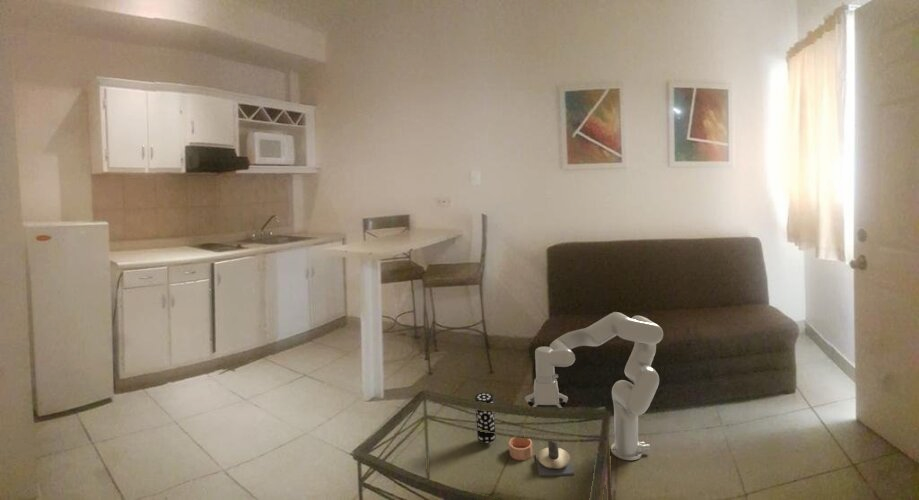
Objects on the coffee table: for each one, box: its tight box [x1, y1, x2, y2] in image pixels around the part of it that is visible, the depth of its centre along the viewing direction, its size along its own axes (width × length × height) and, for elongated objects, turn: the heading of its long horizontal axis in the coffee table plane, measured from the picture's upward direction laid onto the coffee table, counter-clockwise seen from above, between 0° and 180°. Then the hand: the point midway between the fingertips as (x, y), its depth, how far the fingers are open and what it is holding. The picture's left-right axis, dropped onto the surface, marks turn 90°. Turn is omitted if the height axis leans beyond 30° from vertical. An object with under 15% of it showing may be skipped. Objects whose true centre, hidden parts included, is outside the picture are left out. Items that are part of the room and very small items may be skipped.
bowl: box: [508, 436, 534, 461], centre depth 196 cm, size 10×10×5 cm
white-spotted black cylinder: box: [474, 392, 497, 444], centre depth 203 cm, size 8×8×20 cm
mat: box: [534, 451, 575, 477], centre depth 187 cm, size 14×14×1 cm
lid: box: [537, 437, 571, 468], centre depth 186 cm, size 13×13×8 cm
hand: (547, 416), depth 185 cm, fingers open, 9 cm apart
